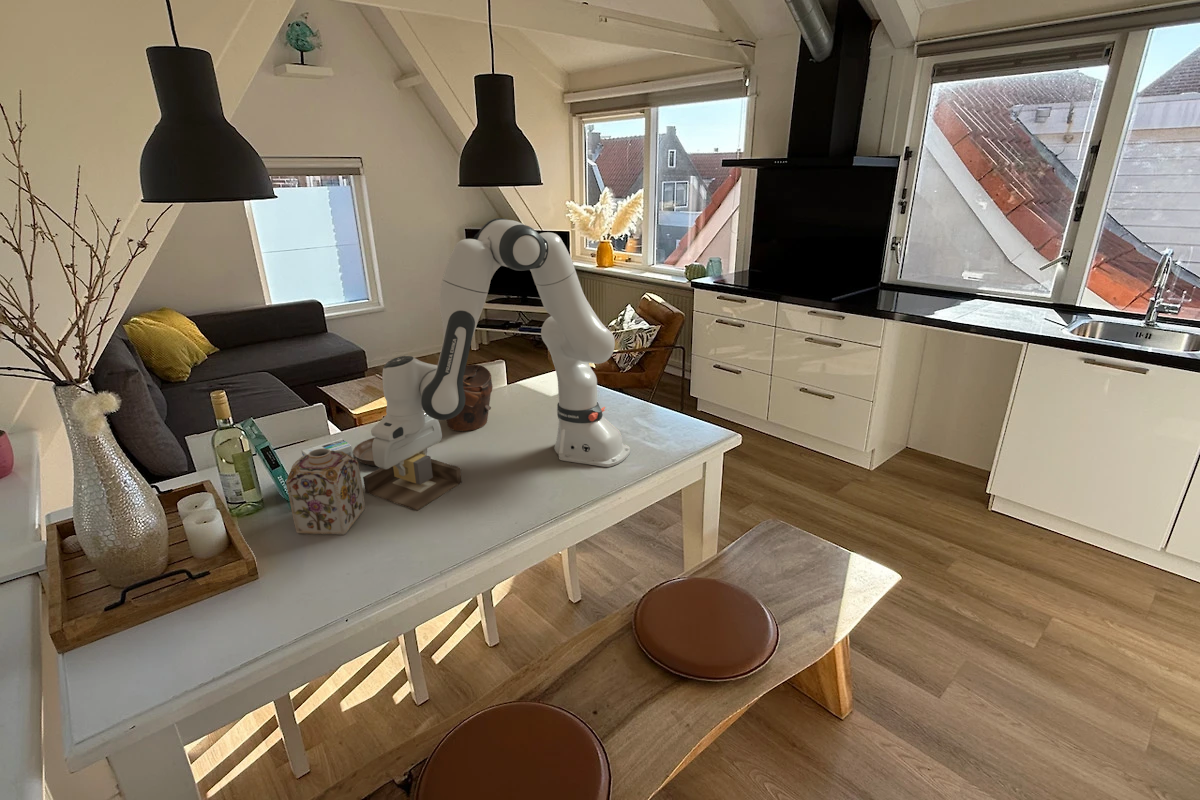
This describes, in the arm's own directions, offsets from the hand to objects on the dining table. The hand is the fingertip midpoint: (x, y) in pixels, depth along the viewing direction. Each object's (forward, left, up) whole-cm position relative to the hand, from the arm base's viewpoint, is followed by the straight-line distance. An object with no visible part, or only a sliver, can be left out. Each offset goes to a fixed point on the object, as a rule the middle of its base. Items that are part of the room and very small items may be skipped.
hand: (412, 469), depth 155 cm
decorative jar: (+4, +22, -5) cm, 23 cm away
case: (+15, -38, -5) cm, 41 cm away
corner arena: (-1, +1, -4) cm, 5 cm away
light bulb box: (+19, +10, -5) cm, 22 cm away
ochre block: (0, 0, -2) cm, 2 cm away
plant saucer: (+20, -9, -5) cm, 22 cm away
